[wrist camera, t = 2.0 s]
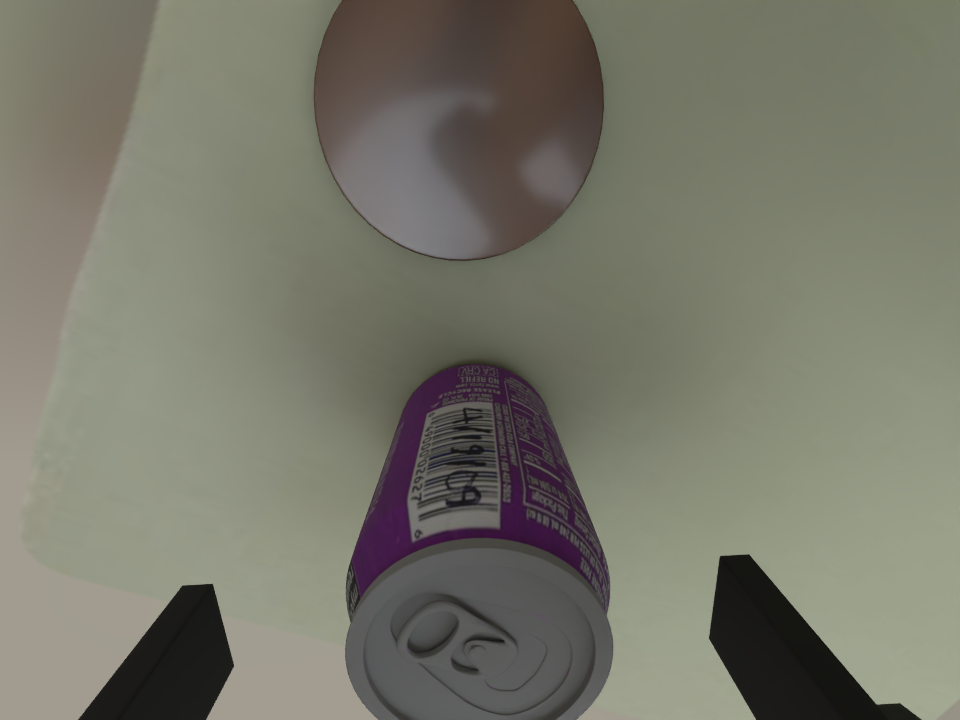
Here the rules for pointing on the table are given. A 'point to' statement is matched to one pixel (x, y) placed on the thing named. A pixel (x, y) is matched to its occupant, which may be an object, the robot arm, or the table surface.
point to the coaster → (459, 118)
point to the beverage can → (477, 564)
